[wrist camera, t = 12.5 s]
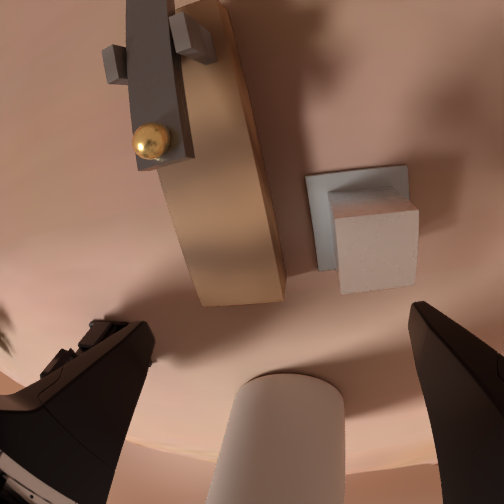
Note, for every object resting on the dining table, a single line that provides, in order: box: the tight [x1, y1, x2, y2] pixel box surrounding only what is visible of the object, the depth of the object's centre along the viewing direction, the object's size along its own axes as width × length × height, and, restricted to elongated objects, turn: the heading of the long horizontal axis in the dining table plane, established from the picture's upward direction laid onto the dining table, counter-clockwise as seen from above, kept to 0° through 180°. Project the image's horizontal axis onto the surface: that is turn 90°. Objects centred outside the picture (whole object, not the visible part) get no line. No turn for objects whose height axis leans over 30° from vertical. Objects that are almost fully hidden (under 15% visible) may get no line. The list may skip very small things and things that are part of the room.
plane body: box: [102, 0, 286, 307], centre depth 15 cm, size 20×6×7 cm, turn 12°
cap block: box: [327, 186, 419, 295], centre depth 16 cm, size 4×4×5 cm
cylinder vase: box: [205, 374, 345, 504], centre depth 18 cm, size 12×12×25 cm
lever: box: [126, 0, 195, 171], centre depth 10 cm, size 12×2×2 cm, turn 13°
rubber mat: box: [305, 165, 409, 271], centre depth 18 cm, size 7×7×1 cm
